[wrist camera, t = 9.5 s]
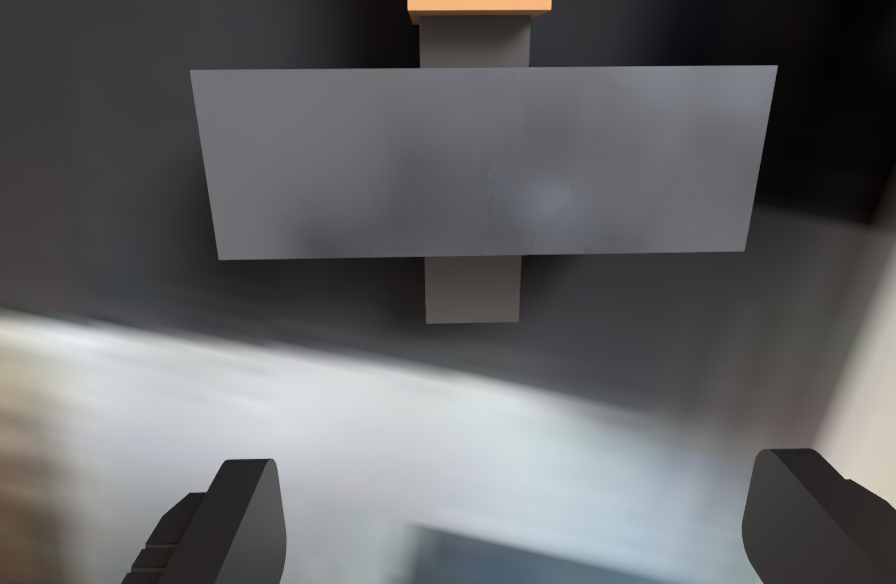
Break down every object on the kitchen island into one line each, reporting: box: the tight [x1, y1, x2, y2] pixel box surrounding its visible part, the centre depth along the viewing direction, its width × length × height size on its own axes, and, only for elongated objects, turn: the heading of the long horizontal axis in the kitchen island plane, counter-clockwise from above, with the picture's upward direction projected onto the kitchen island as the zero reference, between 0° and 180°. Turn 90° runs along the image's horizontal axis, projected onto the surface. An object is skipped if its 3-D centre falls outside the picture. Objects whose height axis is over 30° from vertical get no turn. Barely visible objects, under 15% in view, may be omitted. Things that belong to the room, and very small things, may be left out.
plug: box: [408, 0, 551, 324], centre depth 17 cm, size 14×4×5 cm, turn 0°
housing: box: [190, 65, 778, 260], centre depth 16 cm, size 4×12×8 cm, turn 90°
